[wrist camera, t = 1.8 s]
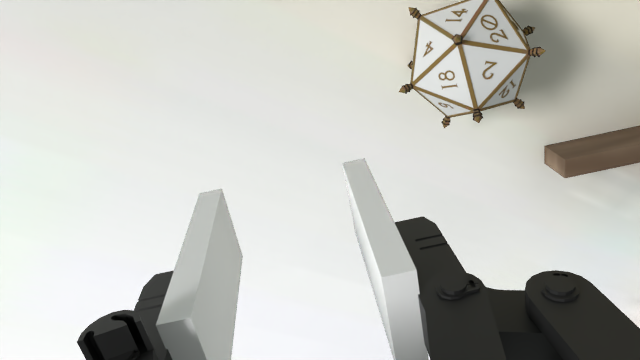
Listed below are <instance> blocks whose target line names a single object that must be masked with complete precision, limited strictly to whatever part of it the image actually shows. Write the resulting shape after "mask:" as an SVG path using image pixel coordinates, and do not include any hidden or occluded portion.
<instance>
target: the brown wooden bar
mask: <svg viewBox="0 0 640 360" xmlns="http://www.w3.org/2000/svg"><path fill="white" fill-rule="evenodd" d="M639 162H640V126H636V127H632V128H627V129H622V130H618V131H613V132H608V133H603V134H599V135H594V136H589V137H585V138H580V139H575V140H570V141H566V142H561V143H556V144H552V145H547V146H545V164H546V165H548V166H549V167H550V168H552V169H553V170H554V171H556V172H557V173H559V174H560V175H561V176H563V177H564V178H568V177H573V176H578V175H583V174H587V173H592V172H597V171H601V170H606V169H611V168H616V167H620V166H625V165H630V164H634V163H639Z"/></svg>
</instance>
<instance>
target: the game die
mask: <svg viewBox="0 0 640 360" xmlns="http://www.w3.org/2000/svg"><path fill="white" fill-rule="evenodd" d="M409 11H410V16H411V15H412V16H413V18H417V19H418V22H417V31H416V39H415V48H414V56H413V62H412V61H411V62H410V63H409V65H408V67H409V68H410V69H412V74H411V82H410V84H406V85H405V86H404V85H403V86H402V88H401V89H400V91H399V92H402V93H406V94H407V92H410V90H411V89H414V90H415V91H417V92H418V93H419V94H420V95H421V96H423V97H424V98H425V99H426V100H427V101H429V102H430V103H431V104H432V105H433V106H435V107H436V108H437V109H438V110H439V111H441V112H442V113H443V114H444V115H445V118H444V119H443V121H442V123H443V127H444V128H445V127H447V126H448V125H449V122H450V117H456V116H461V115H466V114H471V113H473V117H474V118H473V120H475V121H476V122H478V123H479V122H480V120H481V119H482V118H483V117H482V113H481V112H480V111H483V110H487V109H490V108H494V107H497V106H501V105H504V104H508V103H511V102H513V103H514V104H515V106H517V108H521V109H525V107H524V102H522V101H521V99H520V100H519V99H517V96H518V93H519V89H520V86H521V83H522V80H523V77H524V74H525V71H526V68H527V65H528V62H529V59H530V56H534V57H536V56H538V57H540V55H541V54H542V53H544V52H545V50H544V49H542V48H541V47H537V48H532V49H530V47H529V44H528V42H527V39H526V36H527V35H529V34H531V33H533V30H534V29H535V27H530V26H527V27H525V28H524V30H522V29H521V28H520V26H519V25H518V24H517V22H516V21H515V20H514V19H513V17H512V16H511V15H510V14H509V12H508V11H507V10H506V9H505V7H504V6H503V5H502V3H501V2H500V1H499V0H464V1H461V2H458V3H455V4H452V5H449V6H446V7H443V8H441V9H438V10H435V11H432V12H429V13H426V14H423V15H421V14H420V12H419V11H418V10H417V8H410V7H409ZM525 35H526V36H525Z"/></svg>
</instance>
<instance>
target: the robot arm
mask: <svg viewBox="0 0 640 360" xmlns="http://www.w3.org/2000/svg"><path fill="white" fill-rule="evenodd" d="M342 164H343V169H344V174H345V180H346V185H347V190H348V196H349V201H350V206H351V212H352V217H353V222H354V228H355V233H356V236H357V239H358V243H359V246H360V249H361V252H362V256H363V259H364V262H365V266H366V269H367V272H368V276H369V279H370V282H371V286H372V289H373V292H374V295H375V299H376V302H377V305H378V309H379V312H380V315H381V319H382V322H383V325H384V328H385V332H386V335H387V338H388V342H389V345H390V348H391V352H392V355H393V358H394V360H428V354H429V356H430V360H640V328H639V327H637V326H636V325H635V324H634V323H633V322H632V321H631V320H630V319H629V318H628V317H627V316H626V315H625V314H624V313H623V312H622V311H620V310H619V309H618V308H617V307H616V306H615V305H614V304H613V303H612V302H611V301H610V300H609V299H608V298H607V297H606V296H605V295H604V294H602V293H601V292H600V291H599V290H598V289H597V288H596V287H595V286H594V285H593V284H592V283H591V282H589V281H588V280H586V279H585V278H583V277H582V276H579V275H576V274H573V273H570V272H564V271H546V272H541V273H539V274H536V275H534V276H532V277H531V278H530V279H529V280H528V281H527V282H526V287H525V291H522V290H496V289H491V288H487V287H485V286H484V284H483V282H482V281H481V280H480V279H479V278H477V277H475V276H474V275H472V274H468V273H466V272H465V270H464V268H463V267H462V265H461V264H460V262H459V260H458V259H457V257H456V256H455V254H454V252H453V251H452V249H451V248H450V246H449V244H447V241H446V240H445V238H444V236H442V233H441V232H440V230H439V228H438V227H437V225H436V224H435V223H433V222H432V221H430V220H428V219H426V218H425V217H418V218H414V219H409V220H404V221H400V222H395V223H394V221H393V218H392V216H391V214H390V212H389V210H388V208H387V206H386V203H385V201H384V199H383V197H382V195H381V193H380V191H379V188H378V186H377V184H376V182H375V180H374V178H373V176H372V173H371V171H370V169H369V167H368V165H367V163H366V161H365V158H364V159H359V160H355V161H350V162H345V163H342ZM242 257H243V256H242V253H241V250H240V246H239V243H238V240H237V237H236V233H235V230H234V227H233V224H232V220H231V217H230V214H229V211H228V207H227V204H226V201H225V198H224V194H223V191H222V189H218V190H213V191H209V192H204V193H200V194H199V197H198V200H197V203H196V206H195V209H194V212H193V215H192V218H191V221H190V224H189V227H188V230H187V233H186V236H185V239H184V242H183V245H182V248H181V251H180V254H179V257H178V260H177V263H176V266H175V269H174V271H170V272H165V273H160V274H156V275H154V276H153V277H152V278H151V280H150V281H149V282H148V283H147V284H146V285H145V286H144V287H143V289H142V292H141V294H140V297H139V299H138V300H139V302H137V304H136V306H135V309H134V311H132V310H122V311H117V312H112V313H110V314H108V315H106V316H103V317H101V318H99V319H98V320H96V321H95V322H93V323H92V324H90V325H89V326H88V327H87V328H86V329H85V330H84V331H83V332H82V333H81V335H80V337H79V339H78V341H77V343H78V345H79V347H80V349H81V351H82V353H83V354H84V356H85V358H86V360H231V354H232V346H233V337H234V328H235V319H236V310H237V301H238V292H239V283H240V274H241V265H242ZM427 351H428V352H427Z"/></svg>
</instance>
